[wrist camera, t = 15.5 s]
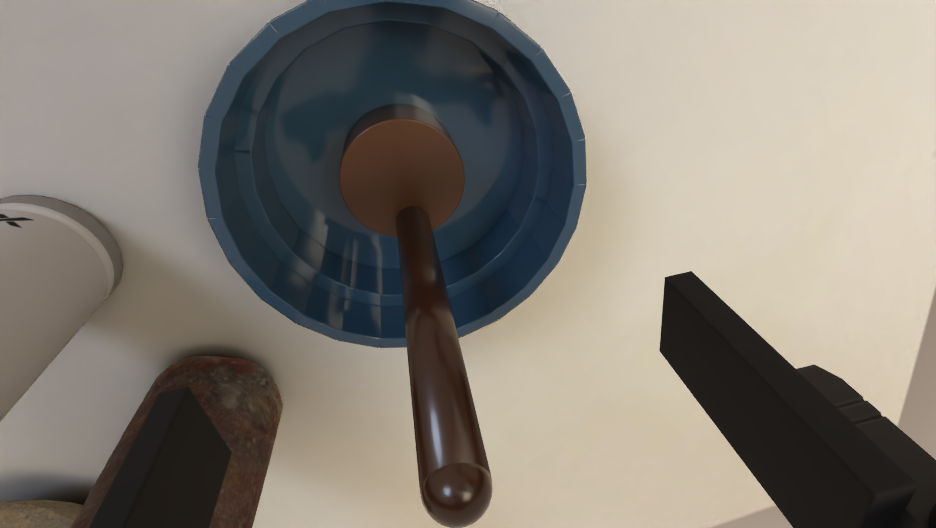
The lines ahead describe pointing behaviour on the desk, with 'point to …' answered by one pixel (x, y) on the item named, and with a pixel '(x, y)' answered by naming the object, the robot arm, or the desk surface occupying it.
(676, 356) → the robot arm
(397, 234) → the ladle
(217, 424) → the brown cylinder
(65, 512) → the bowl
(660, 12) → the desk surface
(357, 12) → the mixing bowl
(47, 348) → the travel mug
